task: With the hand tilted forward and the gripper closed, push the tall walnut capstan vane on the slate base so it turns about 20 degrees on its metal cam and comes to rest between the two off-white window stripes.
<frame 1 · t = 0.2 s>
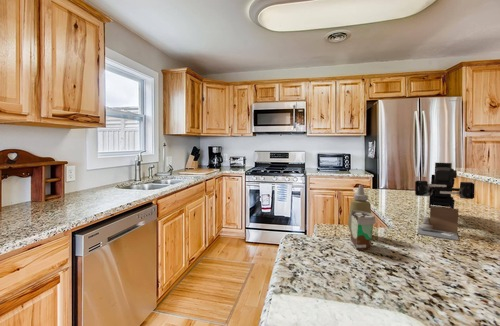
hand: (444, 191, 96), 16 cm above the countertop, tool horizontal, fingers open, 9 cm apart
capstan vane: (438, 219, 99), point 5 cm above the countertop, hinge at 0.0°
slate base: (437, 233, 99), on the countertop
squeeze bottle: (359, 235, 94), on the countertop
food container: (363, 246, 82), on the countertop
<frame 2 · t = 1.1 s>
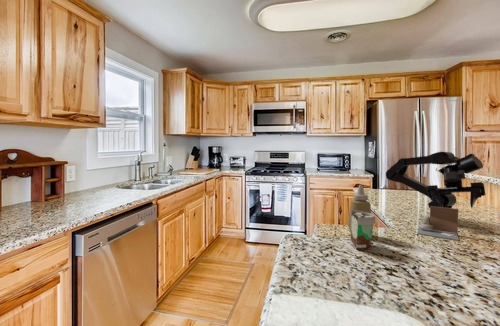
hand: (456, 207, 102), 10 cm above the countertop, tool tilted 45°, fingers open, 9 cm apart
capstan vane: (438, 219, 99), point 5 cm above the countertop, hinge at -1.9°
everything else where it was.
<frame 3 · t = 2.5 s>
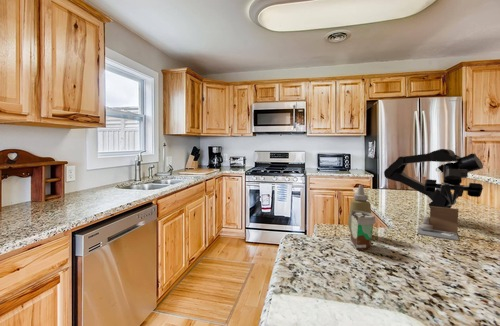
hand: (452, 204, 103), 11 cm above the countertop, tool tilted 45°, fingers closed
nothing on the countertop moved.
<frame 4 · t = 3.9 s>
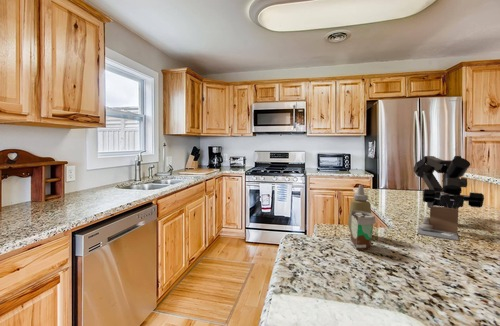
hand: (451, 215, 98), 7 cm above the countertop, tool tilted 45°, fingers closed, pressing on capstan vane
capstan vane: (438, 219, 99), point 5 cm above the countertop, hinge at 1.2°, touching gripper
everything else where it was.
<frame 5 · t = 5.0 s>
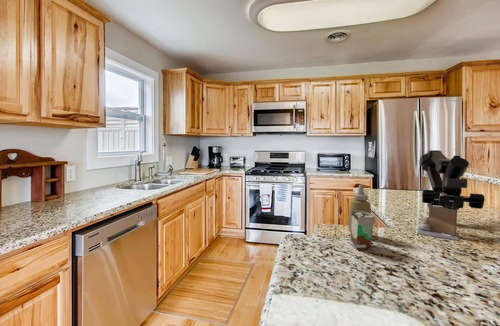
hand: (451, 216, 96), 7 cm above the countertop, tool tilted 45°, fingers closed
capstan vane: (437, 219, 98), point 5 cm above the countertop, hinge at 23.1°, touching gripper
everything else where it was.
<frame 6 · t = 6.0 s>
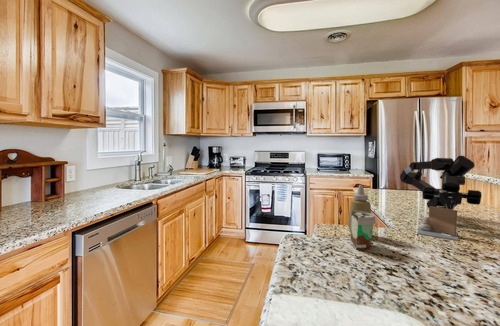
hand: (449, 211, 102), 8 cm above the countertop, tool tilted 45°, fingers closed
capstan vane: (437, 219, 98), point 5 cm above the countertop, hinge at 23.1°
everything else where it was.
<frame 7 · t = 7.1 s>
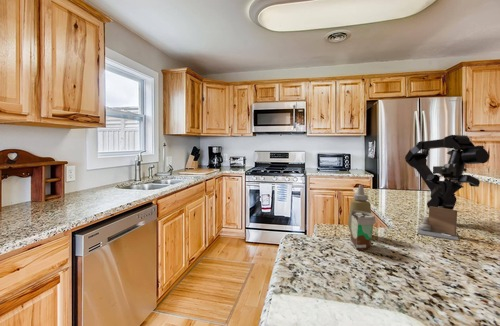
hand: (445, 199, 107), 12 cm above the countertop, tool tilted 20°, fingers closed
nothing on the countertop moved.
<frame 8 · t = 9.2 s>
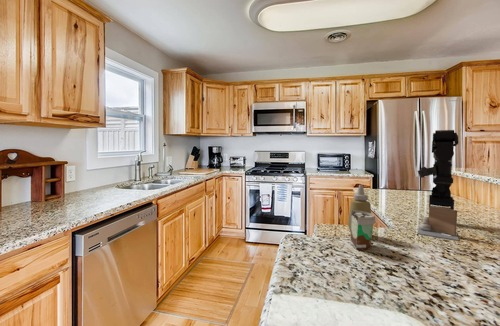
hand: (441, 199, 106), 12 cm above the countertop, tool pointing down, fingers closed
nothing on the countertop moved.
at the end: capstan vane at +23° (first picture: +0°); squeeze bottle moved 0.2 cm from its start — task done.
